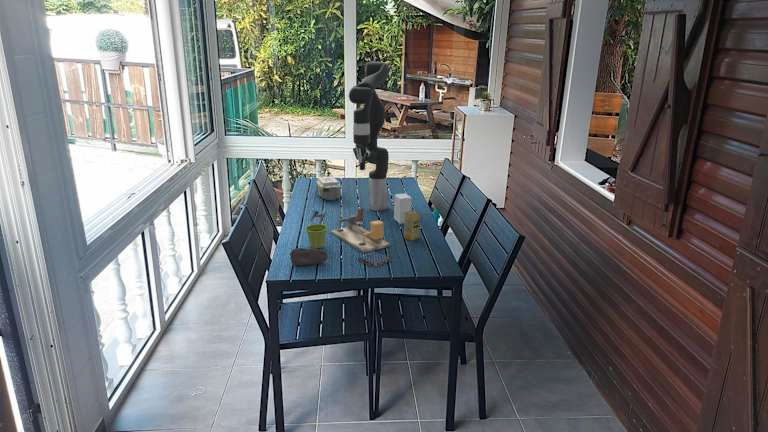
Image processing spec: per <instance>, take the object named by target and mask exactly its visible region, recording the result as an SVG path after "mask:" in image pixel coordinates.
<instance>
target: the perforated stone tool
mask: <svg viewBox="0 0 768 432" xmlns="http://www.w3.org/2000/svg"><path fill="white" fill-rule="evenodd" d="M289 256H290V258H289V259H290V262H291V264H292V265H293V266H300V267H301V266H311V265H312V266H313V265H317V264H318V265H320V264H323V263H325V262H326V261H327V260H328V259H329V256H328V253H327V252H326V251H324V250H322V249H320V248H316V249H314V248H311V247H309V248H307V247H305V248H304V247H301V248H300V247H299V248H292V250H291V252H290V253H289Z"/></svg>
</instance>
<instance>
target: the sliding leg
mask: <svg viewBox="0 0 768 432" xmlns="http://www.w3.org/2000/svg"><path fill="white" fill-rule="evenodd" d="M384 225H385V224H384V222H383V221H381V220H379V219H378V220H373V221H370V222H369V232H368V233H363V243H365V236H368V235H370V237H371V238H373V239H375V240H376V239H380V238H381V239H383V238H384V231H385V230H384V228H385V227H384Z"/></svg>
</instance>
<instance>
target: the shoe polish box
mask: <svg viewBox="0 0 768 432" xmlns="http://www.w3.org/2000/svg"><path fill="white" fill-rule="evenodd" d="M420 220H421V213H420V212H418V211H414V210H411V211H409V212H406V213H405V214H404V223H403V225H404V226H403V227H404V228H403V238H404V239H407V240H409V241H414V240H417V239H419V238H420V226H421V224H420V222H421V221H420Z"/></svg>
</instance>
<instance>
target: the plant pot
mask: <svg viewBox="0 0 768 432" xmlns="http://www.w3.org/2000/svg"><path fill="white" fill-rule="evenodd" d="M327 226H328V225H326V224H322V223H321V224H319V223H316V224H315V223H314V224H309V225H308V226H306V227H305V231H306V234H307V236H308V242H309V243H308V244H309V248H311V249H322V248H324V247H325V243H326V241H325V240H326V233H327V230H328V227H327Z"/></svg>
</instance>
